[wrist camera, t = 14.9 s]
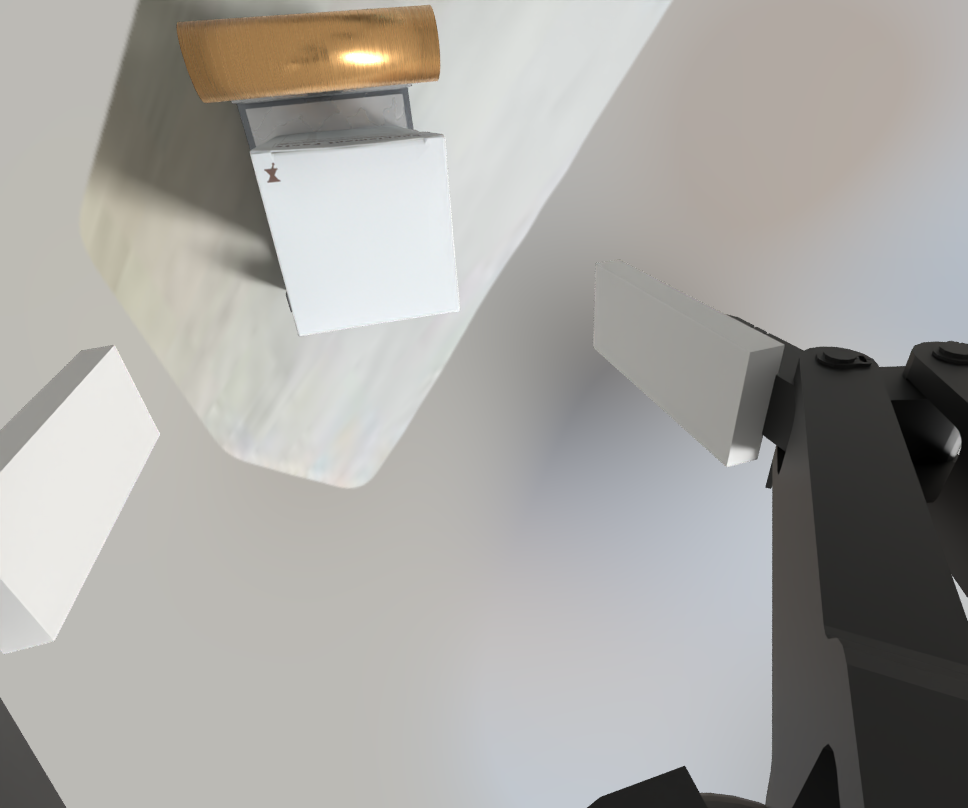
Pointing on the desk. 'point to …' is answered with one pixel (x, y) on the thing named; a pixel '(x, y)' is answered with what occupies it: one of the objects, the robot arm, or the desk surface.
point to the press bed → (325, 115)
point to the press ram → (310, 54)
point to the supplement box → (360, 225)
